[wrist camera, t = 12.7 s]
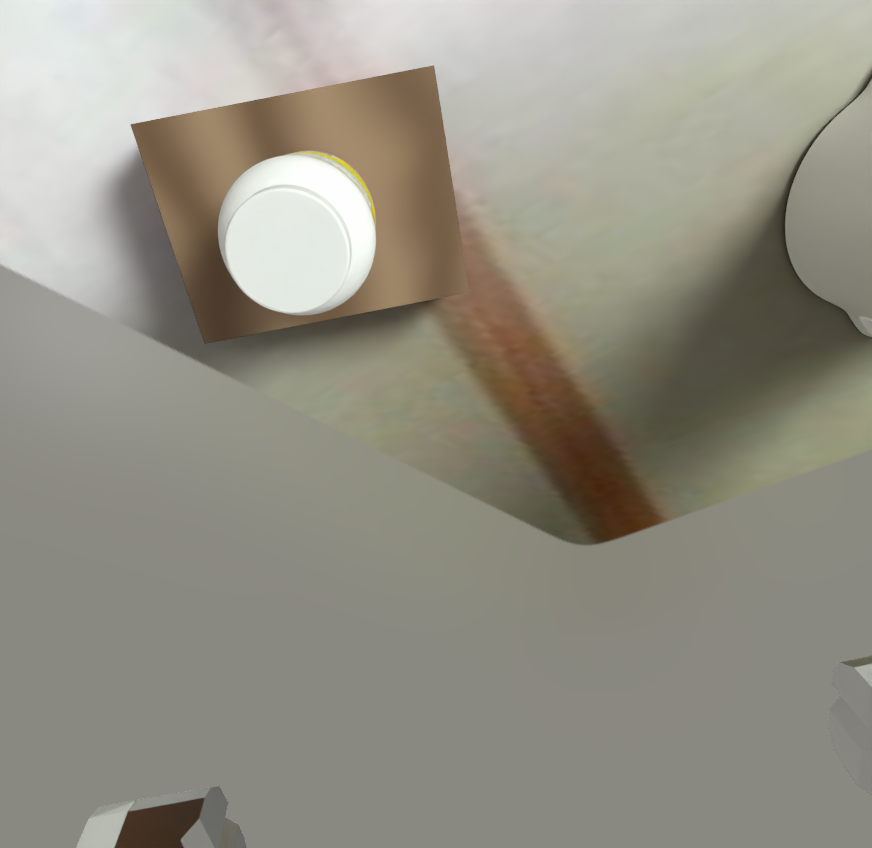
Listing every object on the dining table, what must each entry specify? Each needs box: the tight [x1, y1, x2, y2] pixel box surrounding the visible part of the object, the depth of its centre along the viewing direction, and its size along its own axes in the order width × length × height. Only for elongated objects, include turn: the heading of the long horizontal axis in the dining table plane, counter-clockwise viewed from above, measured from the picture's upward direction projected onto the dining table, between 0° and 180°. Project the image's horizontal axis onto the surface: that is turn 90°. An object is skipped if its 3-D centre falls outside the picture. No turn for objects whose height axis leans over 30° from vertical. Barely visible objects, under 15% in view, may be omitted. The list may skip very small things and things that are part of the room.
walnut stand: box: [131, 66, 469, 344], centre depth 38 cm, size 16×12×5 cm
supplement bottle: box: [218, 151, 376, 315], centre depth 30 cm, size 7×7×13 cm
